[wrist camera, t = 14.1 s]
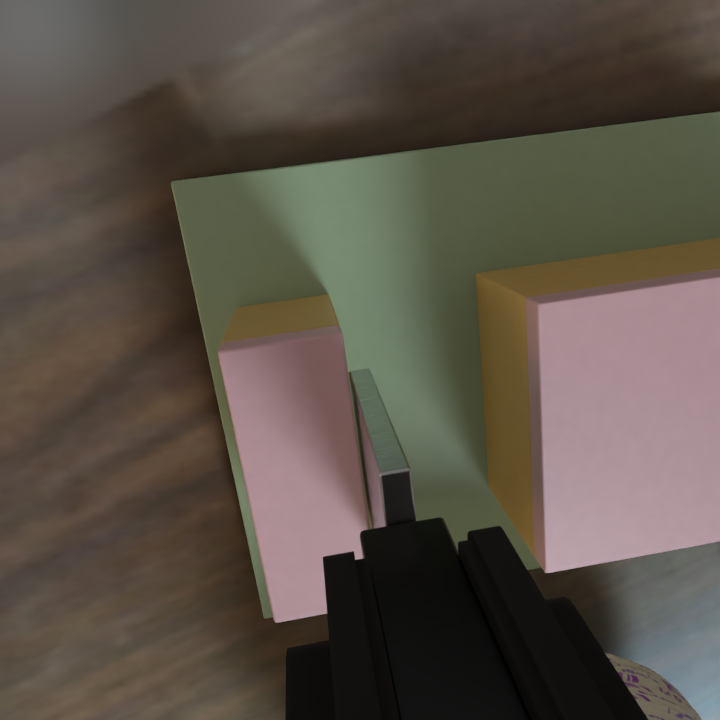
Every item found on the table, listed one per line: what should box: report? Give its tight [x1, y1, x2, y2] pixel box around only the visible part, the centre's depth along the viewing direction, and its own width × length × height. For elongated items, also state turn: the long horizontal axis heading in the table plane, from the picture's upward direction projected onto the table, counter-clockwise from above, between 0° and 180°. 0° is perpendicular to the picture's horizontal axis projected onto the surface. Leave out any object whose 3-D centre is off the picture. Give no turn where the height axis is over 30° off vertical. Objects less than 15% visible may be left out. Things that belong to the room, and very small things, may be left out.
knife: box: [349, 368, 532, 720], centre depth 11 cm, size 4×2×12 cm, turn 7°
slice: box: [218, 294, 370, 623], centre depth 17 cm, size 8×3×5 cm, turn 7°
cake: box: [476, 238, 720, 573], centre depth 18 cm, size 8×10×5 cm
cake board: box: [171, 111, 720, 619], centre depth 21 cm, size 16×20×1 cm
